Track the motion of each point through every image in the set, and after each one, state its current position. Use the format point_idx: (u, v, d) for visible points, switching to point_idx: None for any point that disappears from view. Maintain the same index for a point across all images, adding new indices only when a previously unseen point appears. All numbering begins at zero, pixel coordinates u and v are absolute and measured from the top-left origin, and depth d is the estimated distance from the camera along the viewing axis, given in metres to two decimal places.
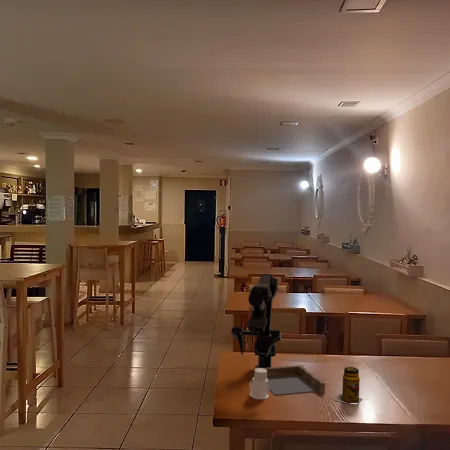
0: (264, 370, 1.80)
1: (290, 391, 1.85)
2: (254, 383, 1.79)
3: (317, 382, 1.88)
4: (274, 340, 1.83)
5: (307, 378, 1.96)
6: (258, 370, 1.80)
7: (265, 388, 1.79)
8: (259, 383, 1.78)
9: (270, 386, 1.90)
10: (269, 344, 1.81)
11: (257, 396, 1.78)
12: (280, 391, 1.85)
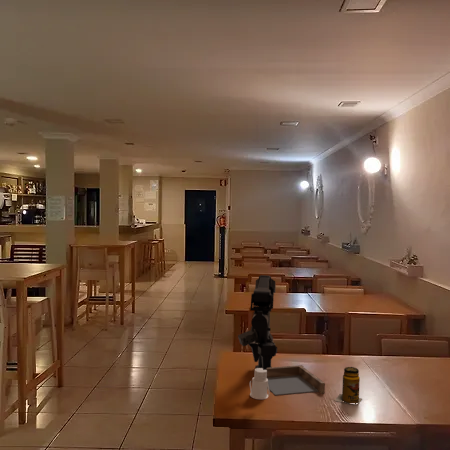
0: (264, 370, 1.80)
1: (290, 391, 1.85)
2: (254, 383, 1.79)
3: (317, 382, 1.88)
4: None
5: (307, 378, 1.96)
6: (258, 370, 1.80)
7: (265, 388, 1.79)
8: (259, 383, 1.78)
9: (270, 386, 1.90)
10: (262, 359, 1.75)
11: (257, 396, 1.78)
12: (280, 391, 1.85)
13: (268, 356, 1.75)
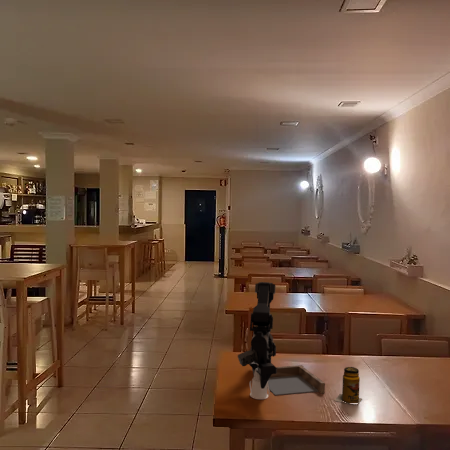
0: None
1: (290, 391, 1.85)
2: (254, 383, 1.79)
3: (317, 382, 1.88)
4: None
5: (307, 378, 1.96)
6: None
7: (265, 388, 1.79)
8: (259, 383, 1.78)
9: (270, 386, 1.90)
10: (260, 377, 1.76)
11: (257, 396, 1.78)
12: (280, 391, 1.85)
13: (266, 375, 1.76)
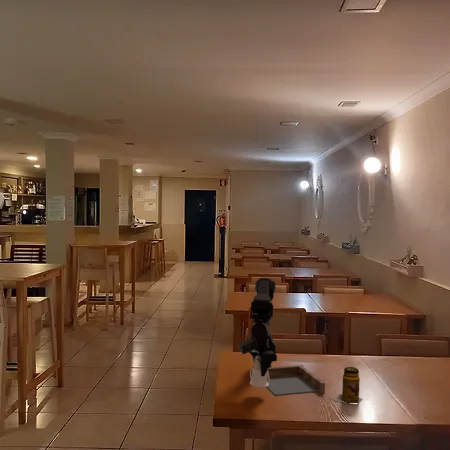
0: None
1: (290, 391, 1.85)
2: (254, 371, 1.79)
3: (317, 382, 1.88)
4: None
5: (307, 378, 1.96)
6: None
7: (265, 376, 1.79)
8: (259, 371, 1.78)
9: (270, 386, 1.90)
10: (260, 365, 1.76)
11: (257, 384, 1.78)
12: (280, 391, 1.85)
13: (266, 363, 1.76)
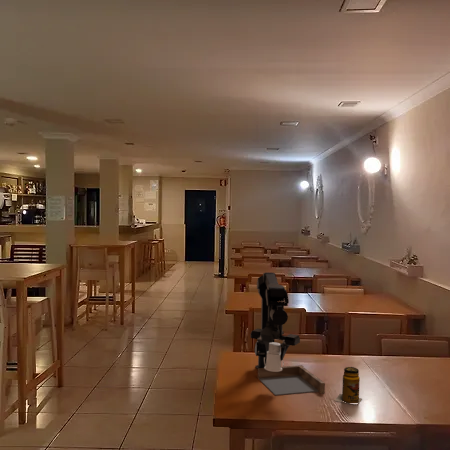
0: (277, 343, 1.87)
1: (290, 391, 1.85)
2: (274, 357, 1.84)
3: (317, 382, 1.88)
4: None
5: (307, 378, 1.96)
6: (274, 344, 1.86)
7: None
8: (279, 356, 1.84)
9: (270, 386, 1.90)
10: (282, 350, 1.83)
11: (277, 369, 1.84)
12: (280, 391, 1.85)
13: (286, 346, 1.85)
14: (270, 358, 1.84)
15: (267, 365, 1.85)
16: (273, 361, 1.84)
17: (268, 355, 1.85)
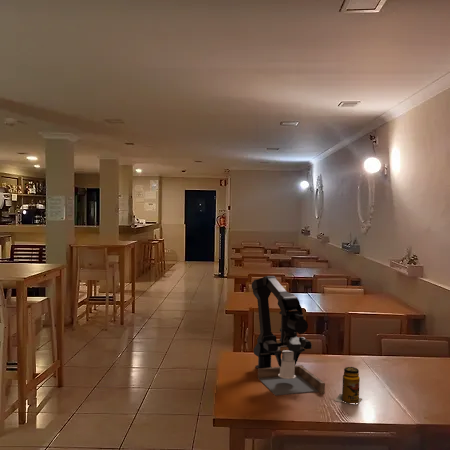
0: (287, 350, 1.95)
1: (290, 391, 1.85)
2: (292, 364, 1.91)
3: (317, 382, 1.88)
4: None
5: (307, 378, 1.96)
6: (289, 352, 1.92)
7: None
8: (294, 362, 1.93)
9: (270, 386, 1.90)
10: (298, 355, 1.93)
11: (294, 375, 1.92)
12: (280, 391, 1.85)
13: None
14: (289, 366, 1.90)
15: (286, 374, 1.90)
16: (292, 368, 1.91)
17: (287, 364, 1.90)
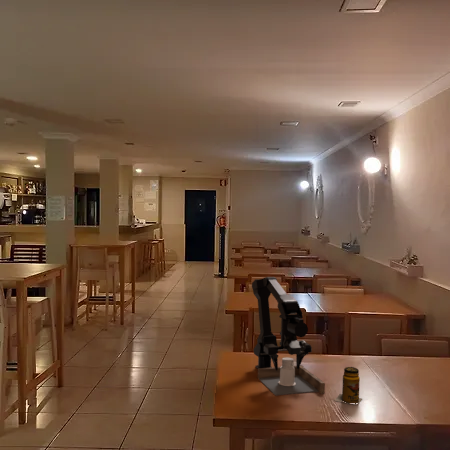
0: (287, 358, 1.95)
1: (290, 391, 1.85)
2: (293, 372, 1.91)
3: (317, 382, 1.88)
4: None
5: (307, 378, 1.96)
6: (289, 359, 1.92)
7: None
8: (294, 369, 1.93)
9: (270, 386, 1.90)
10: (301, 358, 1.94)
11: (294, 382, 1.92)
12: (280, 391, 1.85)
13: None
14: (290, 373, 1.90)
15: (286, 381, 1.90)
16: (292, 376, 1.91)
17: (287, 371, 1.90)
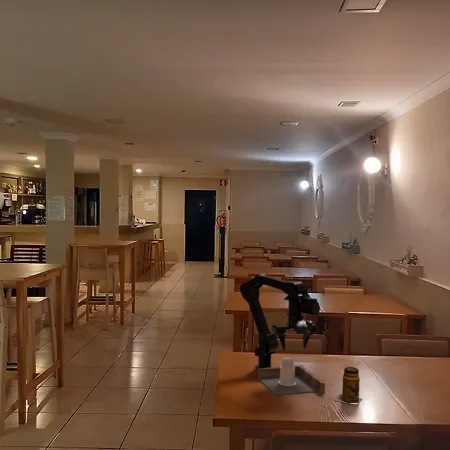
0: (287, 358, 1.95)
1: (290, 391, 1.85)
2: (293, 372, 1.91)
3: (317, 382, 1.88)
4: None
5: (307, 378, 1.96)
6: (289, 359, 1.92)
7: None
8: (294, 369, 1.93)
9: (270, 386, 1.90)
10: (308, 338, 2.02)
11: (294, 382, 1.92)
12: (280, 391, 1.85)
13: None
14: (290, 373, 1.90)
15: (286, 381, 1.90)
16: (292, 376, 1.91)
17: (287, 371, 1.90)
